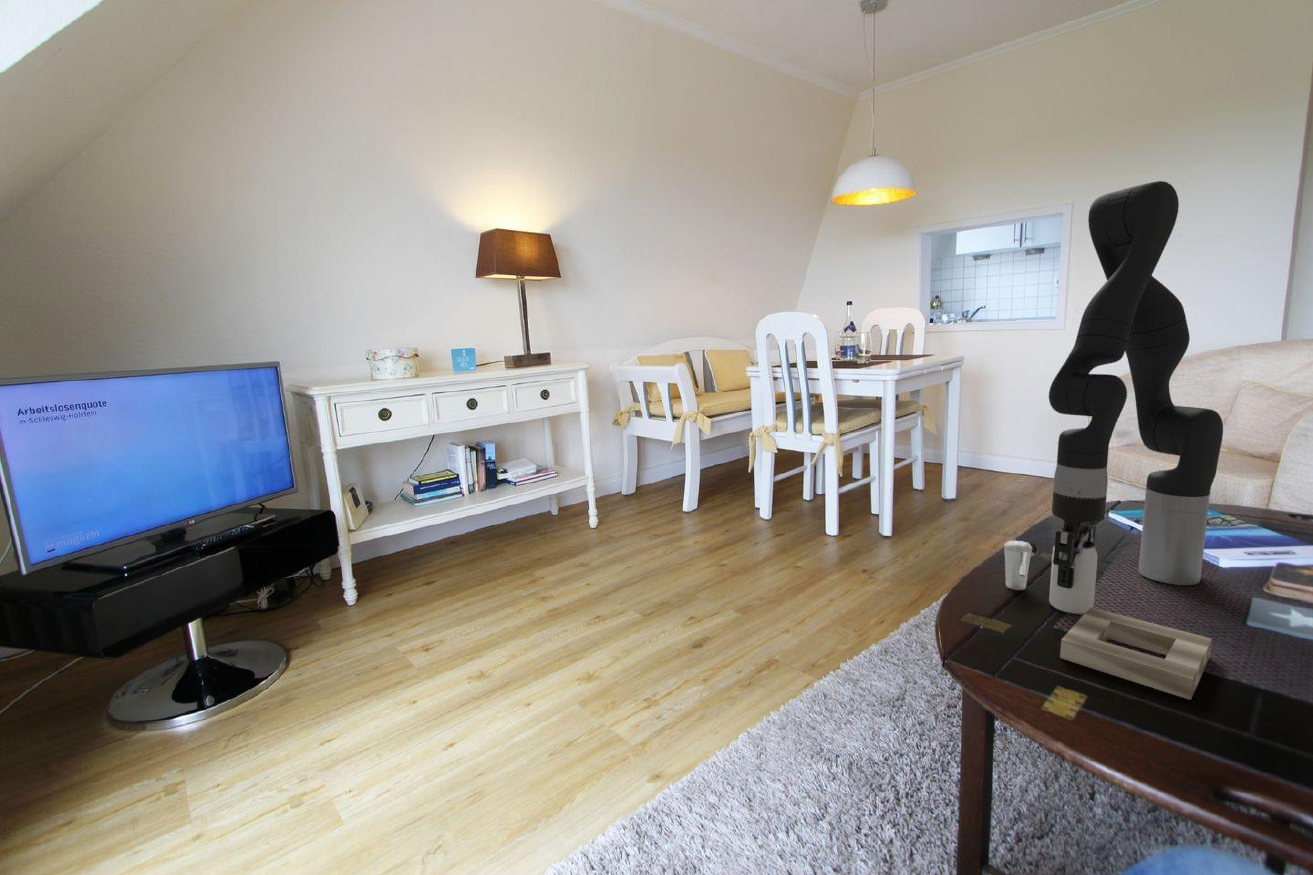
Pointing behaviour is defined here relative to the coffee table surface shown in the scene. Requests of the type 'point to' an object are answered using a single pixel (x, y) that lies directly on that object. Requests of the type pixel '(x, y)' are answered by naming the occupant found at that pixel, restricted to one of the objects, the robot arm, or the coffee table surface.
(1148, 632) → the socket block
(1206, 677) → the coffee table surface
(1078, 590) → the can
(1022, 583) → the milkshake
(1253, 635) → the coffee table surface
